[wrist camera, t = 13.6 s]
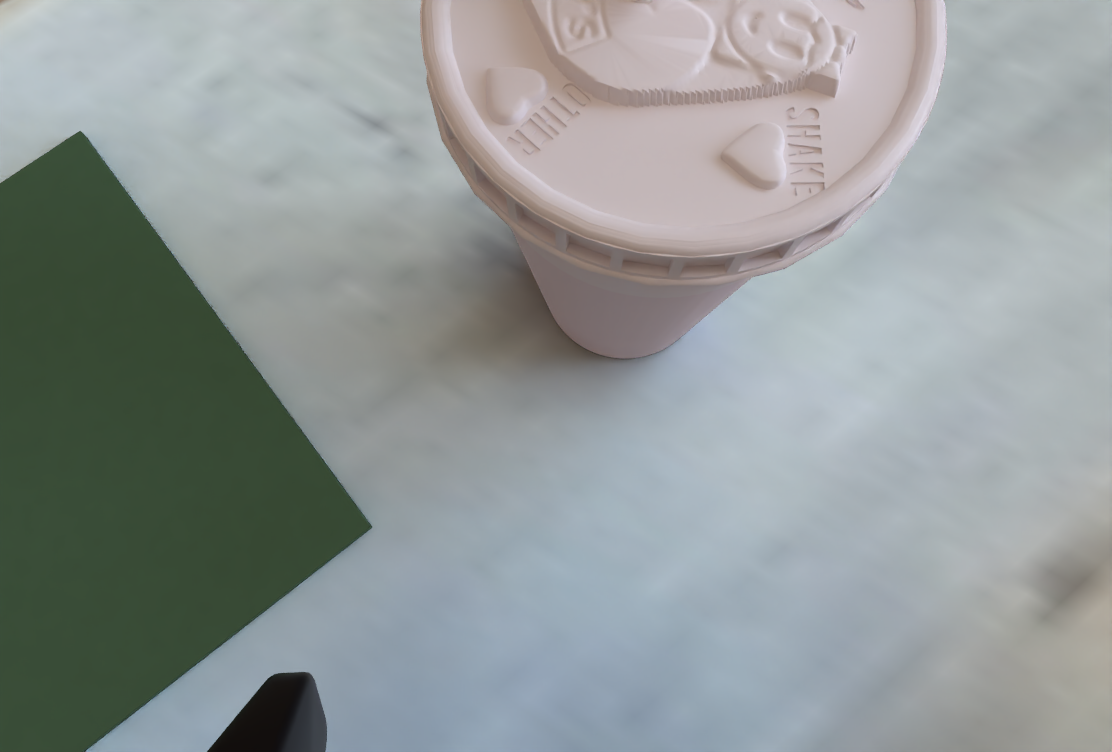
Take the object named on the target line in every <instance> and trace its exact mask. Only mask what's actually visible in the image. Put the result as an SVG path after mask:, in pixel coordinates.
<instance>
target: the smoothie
mask: <svg viewBox="0 0 1112 752" xmlns="http://www.w3.org/2000/svg"><path fill="white" fill-rule="evenodd" d="M420 24H421V41H422V49H423V56H424V61H425V65H426V69H427V86H428V89H429V93H430V97H431V101H432V104H433V108H434V112H435V116H436V120H437V123H438V127H439V131H440V135H441V138H442V141H443V143H444V144H445V146H446V148H447V149H448V151H449V152H450V154H451V156H452V157H453V159H454V161H455V162H456V164H457V166H458V167H459V169H460V171H461V172H462V174H463V176H464V177H465V179H466V181H467V182H468V184H469V185H470V187H471V189H472V190H473V192H474V194H475V195H476V196H478V197H479V198H480V199H481V200H482V201H483V202H484V203H485V204H486V205H487V206H488V207H489V208H490V209H491V210H493V211H494V212H495V213H496V214H497V215H498V216H499V217H500V218H501V219H502V220H503V221H504V222H505V223H506V224H507V225H509V226H510V228H511V230H512V232H513V234H514V236H515V238H516V240H517V242H518V244H519V246H520V249H521V251H522V253H523V255H524V257H525V259H526V261H527V263H528V265H529V267H530V269H531V272H532V274H533V276H534V278H535V280H536V282H537V284H538V286H539V288H540V290H541V292H542V295H543V297H544V299H545V301H546V303H547V305H548V307H549V309H550V311H551V313H552V315H553V317H554V319H555V321H556V322H557V324H558V325H559V326H560V328H561V329H562V330H563V331H564V332H565V333H566V334H567V335H568V336H569V337H570V338H571V339H572V340H573V341H574V342H576V343H577V344H579V345H580V346H582V347H584V348H585V349H587V350H589V351H591V352H594V353H596V354H599V355H602V356H607V357H612V358H621V359H629V358H639V357H644V356H648V355H651V354H654V353H657V352H659V351H661V350H663V349H665V348H667V347H668V346H670V345H672V344H673V343H674V342H676V341H677V340H678V339H679V338H680V337H682V336H683V335H684V334H685V333H686V332H688V331H689V330H690V329H691V328H692V327H694V326H695V325H696V324H697V323H698V322H700V321H701V320H702V319H703V318H704V317H706V316H707V315H708V314H709V313H710V312H711V311H713V310H714V309H715V308H716V307H717V306H719V305H720V304H721V303H722V302H723V301H725V300H726V299H727V298H728V297H729V296H731V295H732V294H733V293H734V292H735V291H737V290H738V289H739V288H740V287H741V286H742V285H744V284H745V283H746V282H747V281H748V280H750V279H751V278H752V277H755V276H759V275H763V274H767V273H770V272H774V271H778V270H782V269H785V268H787V267H788V266H790V265H792V264H794V263H795V262H797V261H799V260H801V259H802V258H804V257H806V256H808V255H809V254H811V253H813V252H815V251H816V250H818V249H820V248H822V247H823V246H825V245H827V244H829V243H830V242H832V241H834V240H836V239H837V238H839V237H841V236H842V235H843V234H844V233H845V232H846V231H847V230H848V229H849V228H850V227H851V226H852V225H853V224H854V223H855V222H856V221H857V220H858V219H859V218H860V217H861V216H862V215H863V214H864V213H865V212H866V211H867V210H868V209H869V208H870V207H871V206H872V205H873V204H874V203H875V202H876V201H877V200H878V198H879V197H880V196H881V195H882V194H883V193H884V192H885V191H886V190H887V188H888V186H889V184H890V183H891V181H892V179H893V177H894V175H895V173H896V171H897V169H898V167H899V165H900V163H901V162H902V161H903V160H904V158H905V157H906V155H907V154H908V152H909V151H910V150H911V148H912V147H913V145H914V144H915V142H916V141H917V139H918V137H919V135H920V133H921V132H922V130H923V128H924V126H925V124H926V122H927V121H928V118H929V116H930V113H931V111H932V108H933V106H934V103H935V101H936V98H937V95H938V91H939V88H940V84H941V80H942V77H943V71H944V65H945V58H946V47H947V21H946V8H945V2H944V0H421V10H420Z"/></svg>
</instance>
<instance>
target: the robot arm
mask: <svg viewBox="0 0 1112 752" xmlns="http://www.w3.org/2000/svg"><path fill="white" fill-rule="evenodd" d="M326 742H327V724H326V718H325V715H324V711H323V708H322V704H321V701H320V697H319V694H318V690H317V687H316V683H315V680H314V678H313V676H312V675H311V674H310V673H307V672H295V673H278V674H274V675H273V676H271V677H270V678H268V679H267V680H266V681H265V683H264V684H263V685H262V686H261V687H260V689H259V690H258V691H257V692H256V693H255V695H254V696H253V697H252V698H251V699H250V701H249V702H248V703H247V704H246V705H245V707H244V708H243V709H242V710H241V711H240V713H239V714H238V715H237V716H236V717H235V719H234V720H233V721H232V722H231V723H230V725H229V726H228V727H227V728H226V729H225V731H224V732H223V733H222V734H221V736H220V737H219V738H218V739H217V740H216V742H215V743H214V744H213V745H212V746H211V748H210V749H209V750H208V751H207V752H325V751H326Z"/></svg>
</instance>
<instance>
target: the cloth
mask: <svg viewBox="0 0 1112 752" xmlns="http://www.w3.org/2000/svg"><path fill="white" fill-rule="evenodd" d="M371 528H372V526H371V525H370V523H369V522H368V521H367V519H366V518H365V517H364V515H363V514H362V512H361V511H360V510H359V508H358V507H357V506H356V504H355V503H354V502H353V500H352V499H351V497H350V496H349V495H348V493H347V492H346V491H345V489H344V488H343V487H342V485H341V484H340V482H339V481H338V480H337V478H336V477H335V476H334V474H333V473H332V472H331V470H330V469H329V467H328V466H327V465H326V463H325V462H324V461H323V459H322V458H321V457H320V455H319V454H318V452H317V451H316V450H315V448H314V447H313V446H312V444H311V443H310V442H309V440H308V439H307V437H306V436H305V435H304V433H303V432H302V431H301V429H300V428H299V427H298V425H297V424H296V422H295V421H294V420H293V418H292V417H291V416H290V414H289V413H288V412H287V410H286V409H285V407H284V406H283V405H282V403H281V402H280V401H279V399H278V398H277V397H276V395H275V394H274V392H273V391H272V390H271V388H270V387H269V386H268V384H267V383H266V382H265V380H264V379H263V377H262V376H261V375H260V373H259V372H258V371H257V369H256V368H255V367H254V365H253V364H252V362H251V361H250V360H249V358H248V357H247V356H246V354H245V353H244V352H243V350H242V349H241V347H240V346H239V345H238V343H237V342H236V341H235V339H234V338H233V337H232V335H231V334H230V332H229V331H228V330H227V328H226V327H225V326H224V324H223V323H222V322H221V320H220V319H219V317H218V316H217V315H216V313H215V312H214V311H213V309H212V308H211V307H210V305H209V304H208V302H207V301H206V300H205V298H204V297H203V296H202V294H201V293H200V292H199V290H198V289H197V287H196V286H195V285H194V283H193V282H192V281H191V279H190V278H189V277H188V275H187V274H186V273H185V271H184V270H183V268H182V267H181V266H180V264H179V263H178V262H177V260H176V259H175V258H174V256H173V255H172V253H171V252H170V251H169V249H168V248H167V247H166V245H165V244H164V243H163V241H162V240H161V238H160V237H159V236H158V234H157V233H156V232H155V230H154V229H153V228H152V226H151V225H150V223H149V222H148V221H147V219H146V218H145V217H144V215H143V214H142V213H141V211H140V210H139V208H138V207H137V206H136V204H135V203H134V202H133V200H132V199H131V198H130V196H129V195H128V193H127V192H126V191H125V189H124V188H123V187H122V185H121V184H120V183H119V181H118V180H117V178H116V177H115V176H114V174H113V173H112V172H111V170H110V169H109V168H108V166H107V165H106V163H105V162H104V161H103V159H102V158H101V157H100V155H99V154H98V153H97V151H96V150H95V148H94V147H93V146H92V144H91V143H90V142H89V140H88V139H87V138H86V136H85V135H84V134H83V133H82V132H81V131H79V132H77V133H76V134H74V135H73V136H71V137H70V138H68V139H67V140H65V141H64V142H62V143H61V144H59V145H58V146H56V147H55V148H53V149H52V150H50V151H49V152H47V153H46V154H44V155H43V156H41V157H39V158H38V159H36V160H35V161H33V162H32V163H30V164H29V165H27V166H26V167H24V168H23V169H21V170H20V171H18V172H17V173H15V174H14V175H12V176H11V177H9V178H8V179H6V180H5V181H3V182H2V183H0V752H84V751H86V750H87V749H88V748H89V747H91V746H92V745H93V744H95V743H96V742H97V741H98V740H100V739H101V738H102V737H104V736H105V735H106V734H107V733H109V732H110V731H111V730H112V729H114V728H115V727H116V726H118V725H119V724H120V723H121V722H123V721H124V720H125V719H127V718H128V717H129V716H130V715H132V714H133V713H134V712H136V711H137V710H138V709H139V708H141V707H142V706H143V705H145V704H146V703H147V702H148V701H150V700H151V699H152V698H154V697H155V696H156V695H157V694H159V693H160V692H161V691H163V690H164V689H165V688H166V687H168V686H169V685H170V684H172V683H173V682H174V681H175V680H177V679H178V678H179V677H181V676H182V675H183V674H184V673H186V672H187V671H188V670H190V669H191V668H192V667H193V666H195V665H196V664H197V663H199V662H200V661H201V660H202V659H204V658H205V657H206V656H208V655H209V654H210V653H211V652H213V651H214V650H215V649H217V648H218V647H219V646H220V645H222V644H223V643H224V642H226V641H227V640H228V639H229V638H231V637H232V636H233V635H235V634H236V633H237V632H238V631H240V630H241V629H242V628H244V627H245V626H246V625H247V624H249V623H250V622H251V621H253V620H254V619H255V618H256V617H258V616H259V615H260V614H262V613H263V612H264V611H265V610H267V609H268V608H269V607H271V606H272V605H273V604H274V603H276V602H277V601H278V600H280V599H281V598H282V597H283V596H285V595H286V594H287V593H289V592H290V591H291V590H292V589H294V588H295V587H296V586H298V585H299V584H300V583H301V582H303V581H304V580H305V579H307V578H308V577H309V576H310V575H312V574H313V573H314V572H316V571H317V570H318V569H319V568H321V567H322V566H323V565H325V564H326V563H327V562H328V561H330V560H331V559H332V558H334V557H335V556H336V555H337V554H339V553H340V552H341V551H343V550H344V549H345V548H346V547H348V546H349V545H350V544H352V543H353V542H354V541H355V540H357V539H358V538H359V537H361V536H362V535H363V534H364V533H366V532H367V531H368V530H370V529H371Z"/></svg>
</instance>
